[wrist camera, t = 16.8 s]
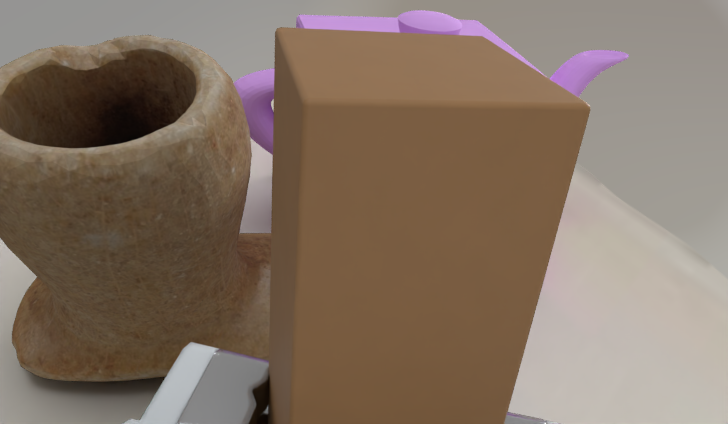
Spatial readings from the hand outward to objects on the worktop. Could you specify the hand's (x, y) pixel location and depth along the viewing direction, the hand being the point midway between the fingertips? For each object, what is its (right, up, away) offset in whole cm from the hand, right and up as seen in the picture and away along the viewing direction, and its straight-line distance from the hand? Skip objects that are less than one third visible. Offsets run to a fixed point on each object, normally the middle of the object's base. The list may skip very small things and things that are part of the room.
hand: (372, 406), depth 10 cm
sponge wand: (-1, -7, +3) cm, 8 cm away
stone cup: (-10, -3, +22) cm, 24 cm away
